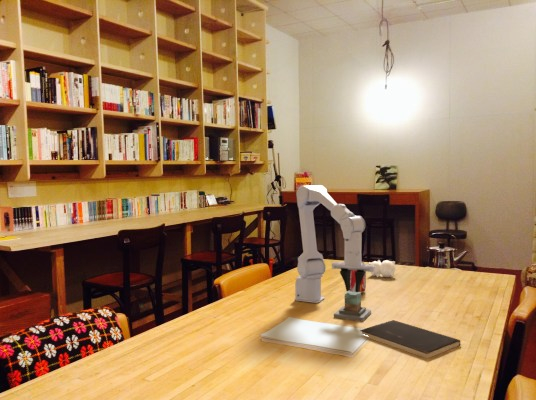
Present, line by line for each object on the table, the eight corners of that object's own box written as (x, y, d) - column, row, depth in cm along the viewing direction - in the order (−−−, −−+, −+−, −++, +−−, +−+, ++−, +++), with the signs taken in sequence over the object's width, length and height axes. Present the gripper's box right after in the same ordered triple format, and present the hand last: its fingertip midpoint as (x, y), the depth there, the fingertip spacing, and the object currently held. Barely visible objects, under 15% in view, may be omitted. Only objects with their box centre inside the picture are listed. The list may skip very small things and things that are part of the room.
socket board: (333, 317, 161) (333, 310, 161) (343, 309, 170) (343, 303, 170) (362, 321, 156) (362, 314, 156) (370, 313, 165) (370, 307, 165)
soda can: (361, 294, 190) (361, 265, 190) (345, 292, 195) (345, 263, 194) (368, 291, 196) (368, 262, 195) (353, 288, 200) (353, 260, 200)
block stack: (344, 312, 162) (344, 293, 162) (348, 309, 166) (348, 291, 166) (357, 314, 160) (357, 295, 160) (360, 310, 164) (361, 292, 164)
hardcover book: (426, 361, 125) (426, 352, 125) (360, 337, 143) (360, 329, 143) (460, 347, 135) (460, 339, 134) (394, 326, 153) (394, 319, 153)
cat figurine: (368, 256, 224) (394, 257, 219) (372, 264, 232) (398, 265, 227) (366, 273, 220) (393, 274, 215) (371, 281, 228) (396, 283, 223)
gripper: (328, 251, 162) (328, 291, 162) (370, 255, 155) (370, 296, 156) (335, 248, 168) (335, 286, 169) (376, 251, 161) (376, 291, 162)
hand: (352, 291), depth 163 cm, fingers open, 3 cm apart
